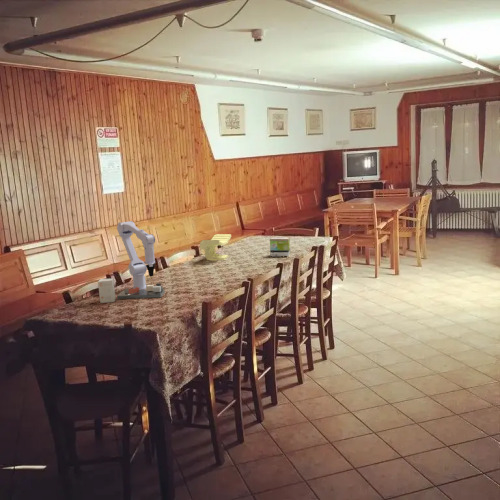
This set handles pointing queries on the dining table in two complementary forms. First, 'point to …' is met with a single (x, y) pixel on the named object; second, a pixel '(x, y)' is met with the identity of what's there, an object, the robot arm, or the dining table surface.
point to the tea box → (279, 246)
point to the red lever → (131, 290)
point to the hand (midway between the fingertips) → (151, 276)
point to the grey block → (157, 288)
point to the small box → (106, 290)
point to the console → (142, 294)
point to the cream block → (149, 287)
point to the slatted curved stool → (211, 244)
